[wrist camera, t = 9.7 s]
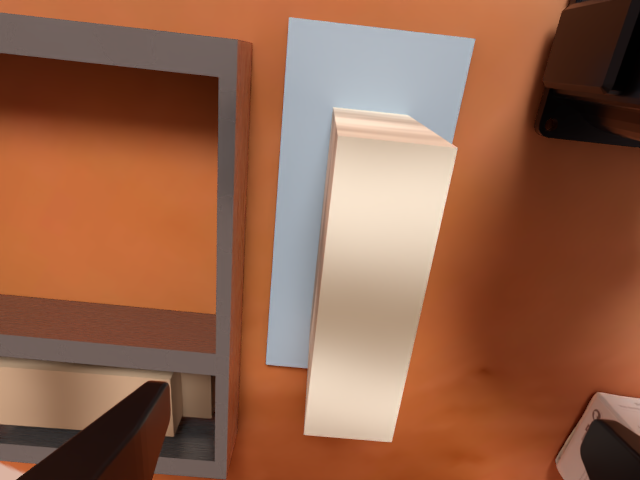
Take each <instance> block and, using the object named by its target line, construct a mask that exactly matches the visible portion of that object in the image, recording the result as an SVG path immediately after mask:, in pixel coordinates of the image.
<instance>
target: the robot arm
mask: <svg viewBox="0 0 640 480" xmlns="http://www.w3.org/2000/svg"><path fill="white" fill-rule="evenodd" d="M543 83H544V85H545V89H544V92H543V96H542V99H541V103H540V106H539V109H538V113H537V116H536V120H535V125H534V128H535V131H536V132H537V133H538V134H539V135H542V136H545V137H548V138H557V139H566V140H575V141H584V142H593V143H602V144H611V145H621V146H630V147H639V148H640V0H570V3H569V6H568V7H567V8H566V9H565V10H563V11H562V14H561V17H560V20H559V24H558V27H557V31H556V34H555V38H554V41H553V45H552V48H551V52H550V55H549V59H548V62H547V66H546V69H545V73H544V76H543ZM549 119H552V120H553V125H552V127H551V128H550V129H548V130H546V128H545V124H546V122H547V121H548V120H549ZM170 416H171V404H170V386H169V383H167V382H165V381H154V380H150V381H147V382H145V383H144V384H143V385H141V386H140V387H139V388H137V389H136V390H135V391H133V392H132V393H131V394H129V395H128V396H127V397H125V398H124V399H123V400H121V401H120V402H119V403H117V404H116V405H115V406H113V407H112V408H111V409H109V410H108V411H107V412H105V413H104V414H103V415H101V416H100V417H99V418H97V419H96V420H95V421H93V422H92V423H91V424H89V425H88V426H87V427H85V428H84V429H83V430H82V431H80V432H79V433H78V434H76V435H75V436H74V437H72V438H71V439H70V440H68V441H67V442H66V443H64V444H63V445H62V446H60V447H59V448H58V449H56V450H55V451H54V452H52V453H51V454H50V455H48V456H47V457H46V458H44V459H43V460H42V461H40V462H39V463H38V464H36V465H35V466H34V467H32V468H31V469H30V470H28V471H27V472H26V473H24V474H23V475H22V476H20V477H19V478H18V479H17V480H152V478H153V474H154V471H155V468H156V465H157V461H158V458H159V455H160V452H161V448H162V445H163V442H164V439H165V435H166V432H167V429H168V426H169V422H170ZM580 455H581V459H582V462H583V464H584V467H585V469H586V472H587V475H588V477H589V480H640V436H639V435H637V434H636V433H634V432H633V431H631V430H630V429H628V428H627V427H625V426H624V425H622V424H621V423H619V422H618V421H615V420H610V419H594V420H593V421H592V422H591V424H590V426H589V428H588V430H587V432H586V435H585V437H584V439H583V441H582V443H581V446H580Z"/></svg>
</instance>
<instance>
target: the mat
mask: <svg viewBox="0 0 640 480" xmlns="http://www.w3.org/2000/svg"><path fill="white" fill-rule="evenodd" d="M474 43H475V39H472V38H464V37H455V36H447V35H438V34H429V33H421V32H412V31H403V30H395V29H386V28H377V27H369V26H360V25H351V24H343V23H334V22H325V21H317V20H308V19H299V18H291V17H289V27H288V42H287V57H286V71H285V86H284V101H283V116H282V131H281V146H280V161H279V175H278V190H277V205H276V220H275V235H274V250H273V265H272V279H271V294H270V309H269V324H268V339H267V354H266V365H276V366H287V367H298V368H308V353H309V336H310V319H311V309H312V300H313V291H314V281H315V272H316V263H317V253H318V244H319V235H320V225H321V216H322V207H323V197H324V188H325V179H326V169H327V160H328V151H329V141H330V132H331V123H332V113H333V107H337V108H347V109H356V110H366V111H375V112H385V113H394V114H404V115H409V116H410V117H412V118H413V119H415V120H416V121H418V122H419V123H421V124H422V125H424V126H425V127H427V128H428V129H430V130H431V131H433V132H434V133H436V134H437V135H439V136H440V137H442V138H443V139H445V140H446V141H448V142H449V143H451V144H452V141H453V137H454V132H455V128H456V124H457V119H458V115H459V110H460V106H461V101H462V97H463V92H464V88H465V83H466V79H467V74H468V70H469V65H470V61H471V56H472V52H473V47H474Z"/></svg>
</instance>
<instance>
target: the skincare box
mask: <svg viewBox="0 0 640 480" xmlns="http://www.w3.org/2000/svg"><path fill="white" fill-rule="evenodd" d="M594 419H610V420H615V421H618V422H619V423H621V424H622V425H624V426H625V427H627V428H628V429H630V430H631V431H633V432H634V433H636V434H637V435H639V436H640V398H633V397H626V396H619V395H613V394H608V393H602V392H597V393H596V394H595V395H594V396H593V397H592V399H591V401H590V402H589V404H588V406H587V408H586V411H585V412H584V414H583V416H582V418H581V419H580V421H579V422H578V424H577V425H576V427H575V429H574V430H573V431H572V433H571V434H570V436H569V437H568V439H567V441H566V442H565V444H564V446H563V447H562V449H561V451H560V452H559V454H558V456H557V457H556V460H555V462H556V465H557V470H558V471H559V473H560V475H561V476H562V478H563V479H564V480H589V477H588V475H587V472H586V469H585V467H584V464H583V462H582V459H581V455H580V446H581V443H582V441H583V439H584V437H585V435H586V432H587V430H588V428H589V426H590V424H591V422H592V421H593V420H594Z"/></svg>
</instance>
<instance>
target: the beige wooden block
mask: <svg viewBox="0 0 640 480" xmlns="http://www.w3.org/2000/svg"><path fill="white" fill-rule="evenodd" d="M457 149H458V148H457V147H455V146H454V145H452V144H451V143H449V142H448V141H446V140H445V139H443V138H442V137H440V136H439V135H437V134H436V133H434V132H433V131H431V130H430V129H428V128H427V127H425V126H424V125H422V124H421V123H419V122H418V121H416V120H415V119H413V118H412V117H410V116H409V115H404V114H394V113H385V112H375V111H366V110H356V109H347V108H337V107H333V113H332V123H331V132H330V141H329V151H328V160H327V169H326V179H325V188H324V197H323V207H322V216H321V225H320V235H319V244H318V253H317V263H316V272H315V281H314V291H313V300H312V309H311V319H310V336H309V353H308V371H307V388H306V405H305V423H304V435H311V436H323V437H335V438H347V439H359V440H371V441H383V442H392V439H393V434H394V430H395V425H396V421H397V416H398V412H399V407H400V403H401V399H402V394H403V390H404V385H405V381H406V376H407V372H408V367H409V363H410V358H411V354H412V350H413V345H414V341H415V336H416V332H417V327H418V323H419V318H420V314H421V309H422V305H423V301H424V296H425V292H426V287H427V283H428V278H429V274H430V269H431V265H432V260H433V256H434V252H435V247H436V243H437V238H438V234H439V229H440V225H441V220H442V216H443V211H444V207H445V203H446V198H447V194H448V189H449V185H450V180H451V176H452V171H453V167H454V163H455V158H456V154H457Z"/></svg>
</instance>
